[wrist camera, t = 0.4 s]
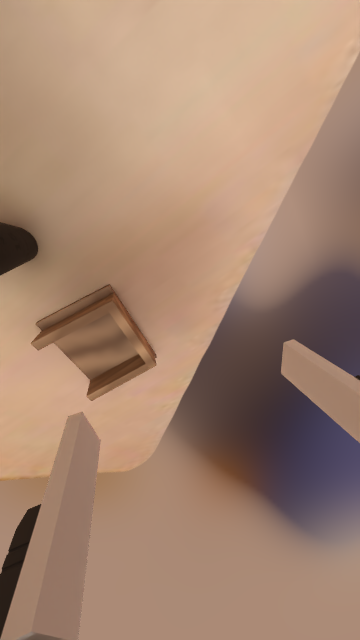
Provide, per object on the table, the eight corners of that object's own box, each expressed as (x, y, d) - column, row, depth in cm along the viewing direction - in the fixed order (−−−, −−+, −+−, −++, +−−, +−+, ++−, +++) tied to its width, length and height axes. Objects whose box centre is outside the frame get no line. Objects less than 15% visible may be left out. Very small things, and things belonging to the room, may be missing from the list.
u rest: (37, 321, 33) (22, 336, 28) (109, 284, 34) (106, 292, 29) (99, 385, 41) (96, 405, 36) (156, 354, 42) (160, 370, 37)
